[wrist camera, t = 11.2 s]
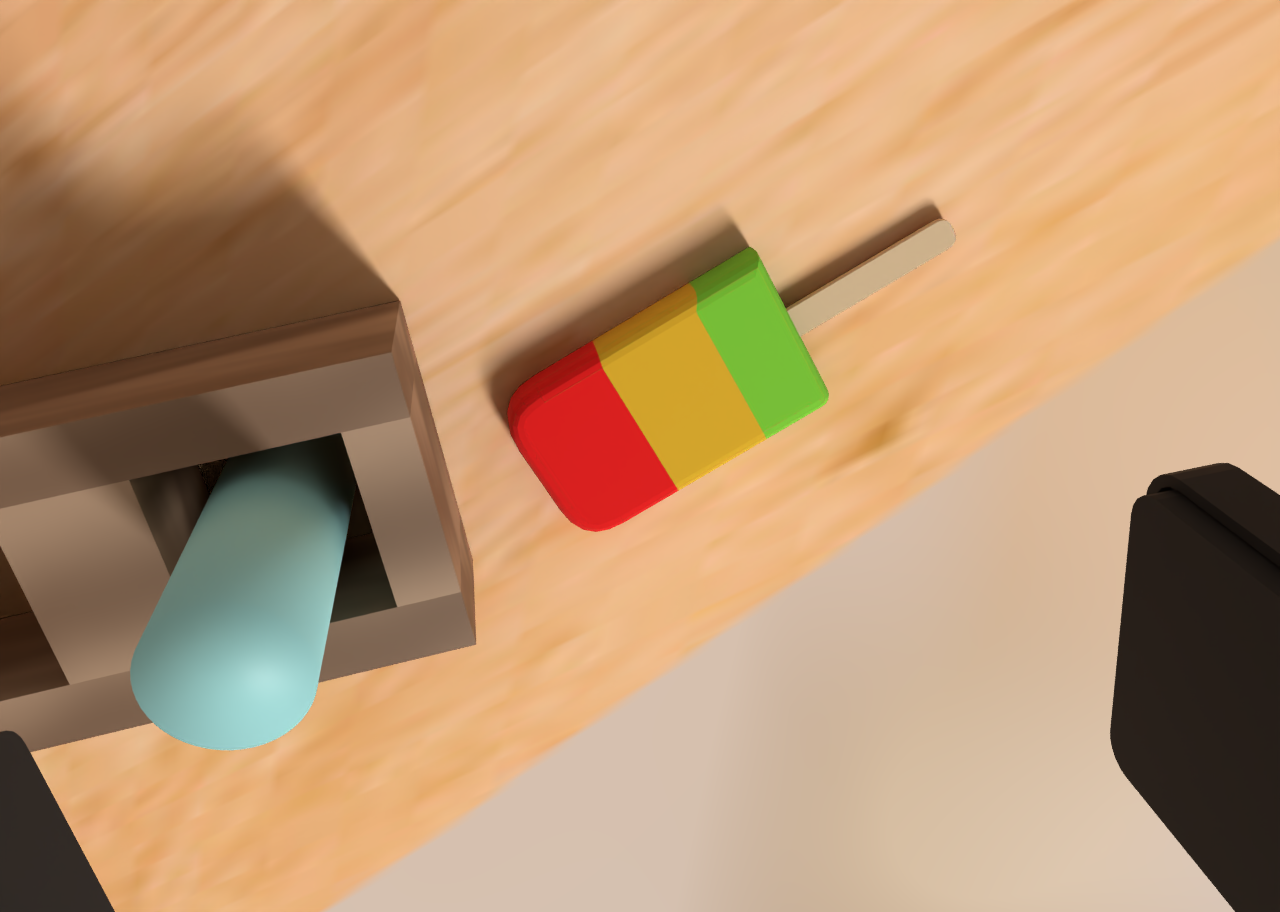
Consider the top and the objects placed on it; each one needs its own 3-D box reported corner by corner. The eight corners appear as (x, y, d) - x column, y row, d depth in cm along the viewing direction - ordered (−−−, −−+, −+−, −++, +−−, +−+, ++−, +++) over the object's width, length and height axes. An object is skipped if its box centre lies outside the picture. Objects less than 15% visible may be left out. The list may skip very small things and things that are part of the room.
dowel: (211, 428, 31) (101, 625, 21) (337, 400, 32) (287, 582, 22) (253, 537, 33) (168, 768, 23) (372, 510, 33) (339, 726, 23)
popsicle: (489, 395, 33) (492, 417, 31) (906, 144, 32) (933, 152, 30) (578, 525, 35) (585, 552, 34) (969, 294, 34) (997, 310, 33)
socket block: (-234, 436, 29) (-358, 515, 25) (399, 300, 31) (391, 352, 26) (-86, 691, 33) (-171, 800, 29) (472, 560, 35) (476, 644, 30)
